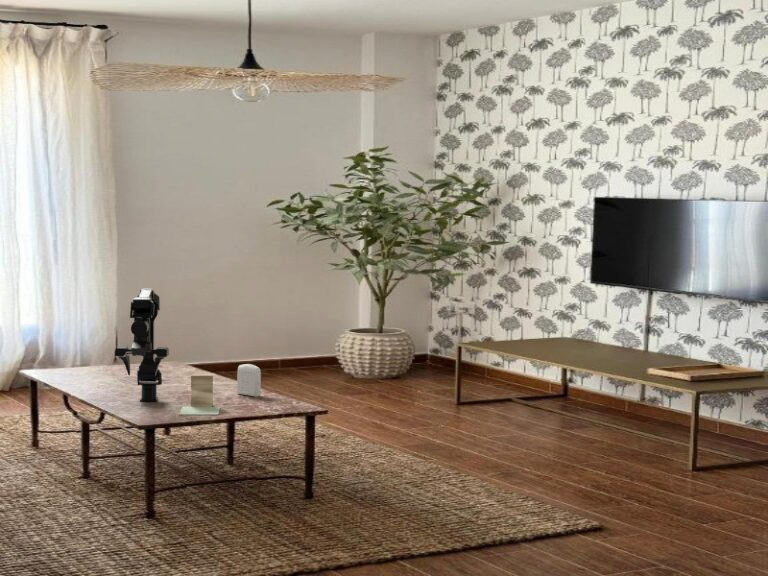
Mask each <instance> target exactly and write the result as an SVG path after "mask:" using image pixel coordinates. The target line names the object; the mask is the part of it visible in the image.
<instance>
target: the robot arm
mask: <svg viewBox="0 0 768 576" xmlns="http://www.w3.org/2000/svg"><path fill="white" fill-rule="evenodd" d="M160 310H161V299H160V296H159V295H158V294H157V293H156V292H155V289H153V288H142V289H140V290H139V294H138V295H137V296H136V297H133V299H132V300H131V301H130V311H129V319H133V322H132V324H131V325H130V326H131V327H130V331H131V333H132V335H133V341H132V345H131V348H129V346H120V345H119V346H117V348H116V347H115V349H114V357H118V359H120V360H121V361H122V362H123V364H124V367H125V370H126V372H127V374H128V376H131V363H130V362H131V359H130V355H132V357H133V356H134V357H136V356H140V357H142V361H141V362H140V364H139V365H138V369H137V371H136V376H137V377H136V380H137V386H141V396H140V399H139V402H158V399H159V397H158V395H157V393H158V392H157V387H158V386H160V385H163V378H162V372H161V370H160V369H159V366H160V363H161V361H162V360H164V359H165V358H166V357H169V355H170V349H169V347H167V346H157V347H156V348H155V321H156V318H157V317H158V315H159V311H160ZM155 355H156V356H155Z"/></svg>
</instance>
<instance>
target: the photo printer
mask: <svg viewBox="0 0 768 576" xmlns="http://www.w3.org/2000/svg"><path fill="white" fill-rule="evenodd" d="M236 379H237V381H236V382H237V383H236V384H237V385H236V393H237V394H239V395H245V396H251V397H254V398H257V397H259V396H261V385H262V383H261V379H262V372H261V368H260V367H258V366H256V365H255V364H251V363H246V364H244V363H243V364H239V365H238V367H237V378H236Z"/></svg>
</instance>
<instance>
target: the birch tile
mask: <svg viewBox="0 0 768 576" xmlns="http://www.w3.org/2000/svg"><path fill="white" fill-rule="evenodd" d="M212 406H213V407H214V374H213V373H211V374H209V373H207V374H205V373H204V374H203V373H202V374H201V373H198V374H197V373H196V374H195V373H191V375H190V407H212Z"/></svg>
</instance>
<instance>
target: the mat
mask: <svg viewBox="0 0 768 576" xmlns="http://www.w3.org/2000/svg"><path fill="white" fill-rule="evenodd" d="M220 411H221V406H213V407H191V406H182V407H181V409H180V412H179V416H219V413H220Z"/></svg>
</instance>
